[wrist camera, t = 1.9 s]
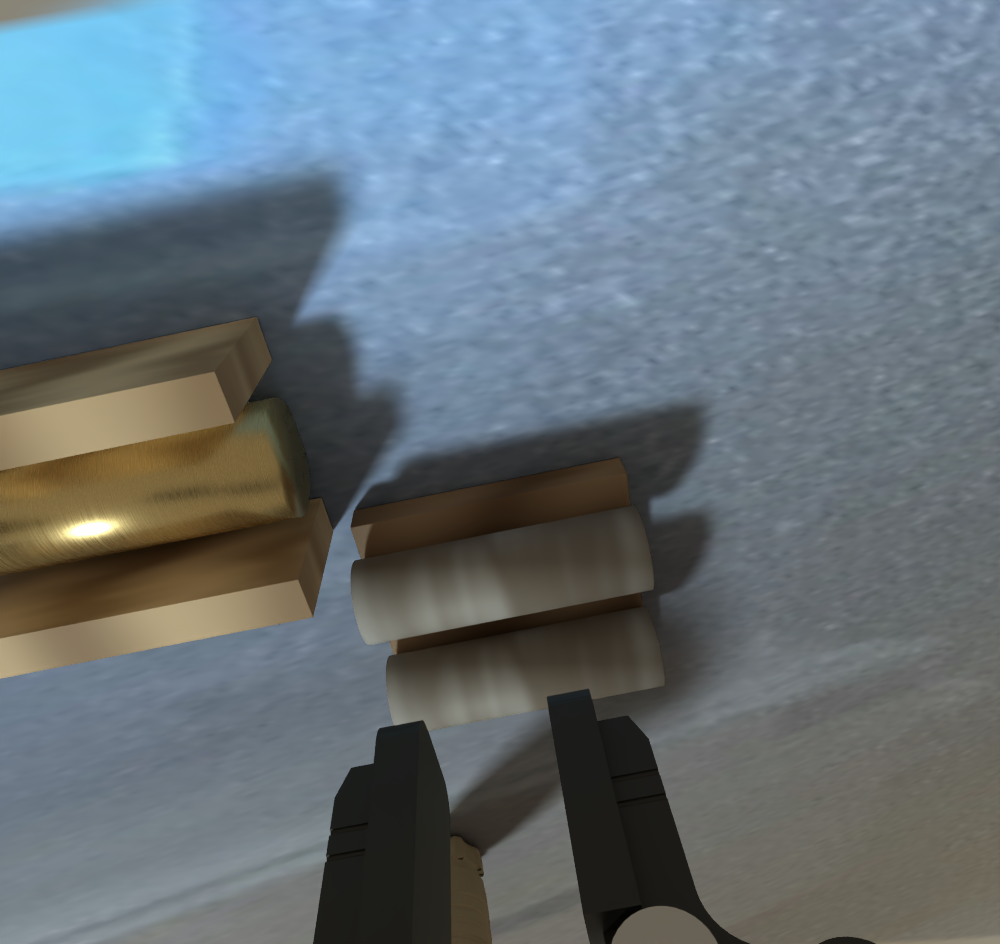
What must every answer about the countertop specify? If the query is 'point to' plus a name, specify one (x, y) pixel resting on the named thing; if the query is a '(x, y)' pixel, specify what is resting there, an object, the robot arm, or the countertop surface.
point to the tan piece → (162, 568)
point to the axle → (155, 491)
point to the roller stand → (507, 595)
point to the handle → (468, 895)
